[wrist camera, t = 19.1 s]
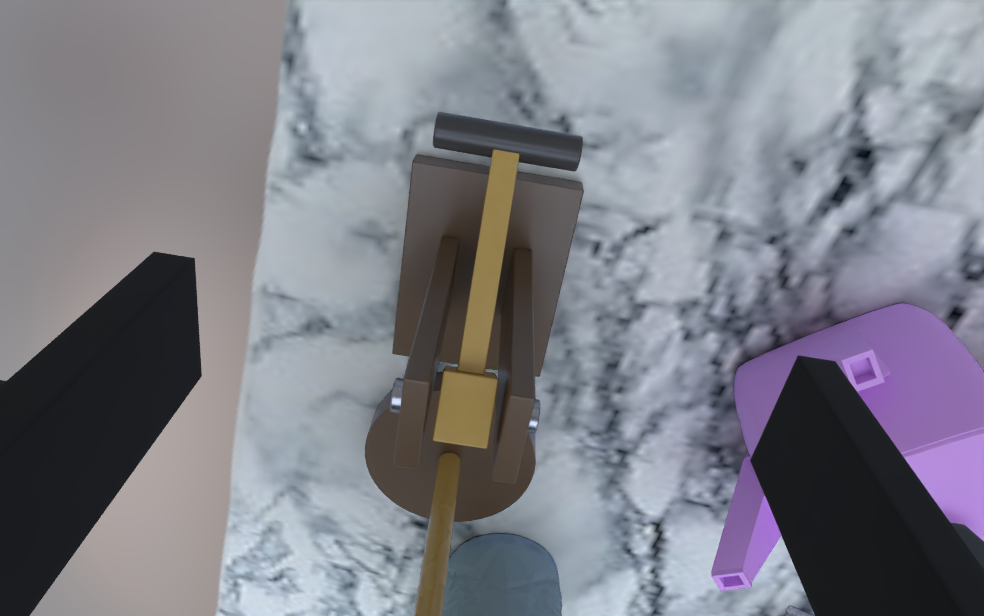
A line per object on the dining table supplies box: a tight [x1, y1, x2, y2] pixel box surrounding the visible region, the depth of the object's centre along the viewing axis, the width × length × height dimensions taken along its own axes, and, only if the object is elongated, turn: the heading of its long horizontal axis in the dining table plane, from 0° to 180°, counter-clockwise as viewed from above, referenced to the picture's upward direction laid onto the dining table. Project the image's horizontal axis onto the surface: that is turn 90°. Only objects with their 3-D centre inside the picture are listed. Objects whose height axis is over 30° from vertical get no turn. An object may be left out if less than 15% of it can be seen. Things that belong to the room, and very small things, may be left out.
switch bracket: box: [390, 155, 584, 484], centre depth 33 cm, size 12×9×15 cm
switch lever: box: [433, 112, 583, 449], centre depth 28 cm, size 13×6×2 cm, turn 170°
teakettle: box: [711, 303, 984, 591], centre depth 38 cm, size 17×17×12 cm
